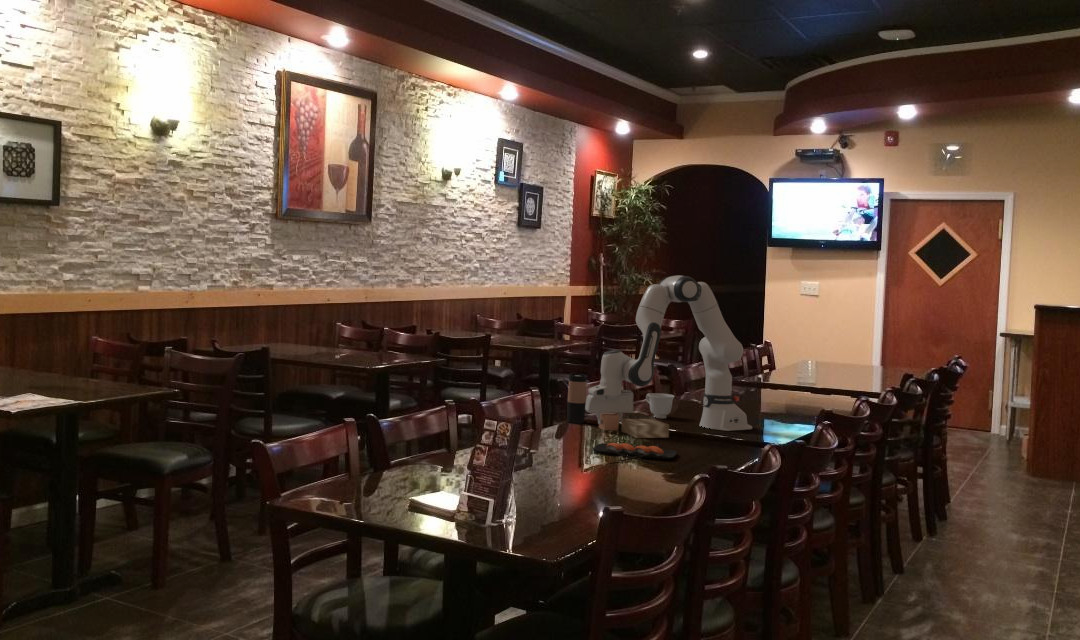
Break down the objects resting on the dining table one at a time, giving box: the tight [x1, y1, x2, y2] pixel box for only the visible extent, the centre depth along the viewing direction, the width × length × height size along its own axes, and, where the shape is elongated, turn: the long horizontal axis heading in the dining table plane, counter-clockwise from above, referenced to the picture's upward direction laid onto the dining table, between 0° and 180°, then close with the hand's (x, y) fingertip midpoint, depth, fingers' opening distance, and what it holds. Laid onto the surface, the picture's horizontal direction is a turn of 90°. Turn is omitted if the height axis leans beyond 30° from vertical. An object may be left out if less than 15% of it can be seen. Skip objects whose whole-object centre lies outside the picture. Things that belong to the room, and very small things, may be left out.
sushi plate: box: [592, 442, 678, 464], centre depth 329 cm, size 29×30×4 cm
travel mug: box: [566, 373, 588, 425], centre depth 398 cm, size 8×8×20 cm
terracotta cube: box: [598, 413, 620, 431], centre depth 386 cm, size 6×6×6 cm
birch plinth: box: [620, 418, 670, 439], centre depth 378 cm, size 14×14×5 cm
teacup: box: [645, 392, 675, 419], centre depth 424 cm, size 12×15×10 cm
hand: (608, 423), depth 386 cm, fingers closed on terracotta cube, 6 cm apart
